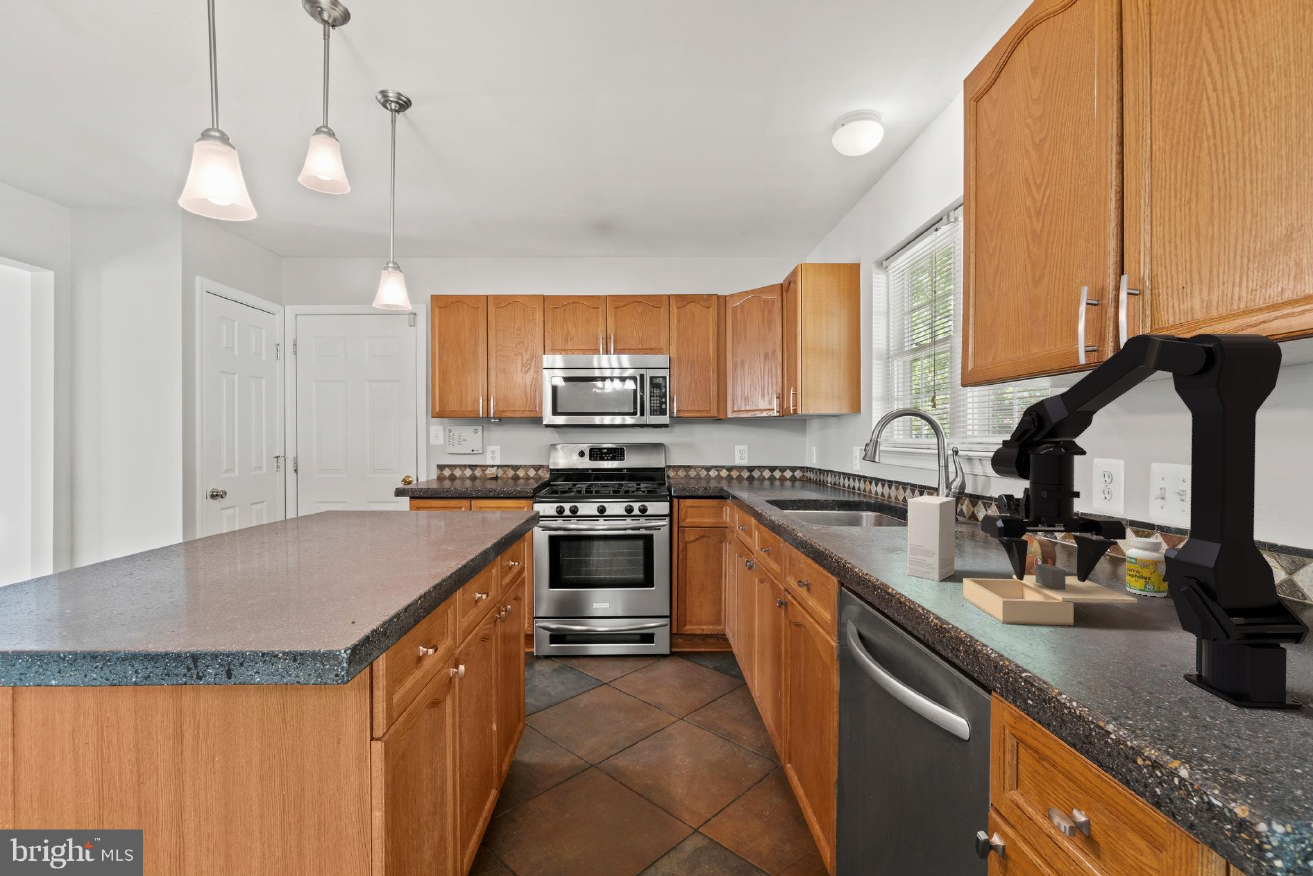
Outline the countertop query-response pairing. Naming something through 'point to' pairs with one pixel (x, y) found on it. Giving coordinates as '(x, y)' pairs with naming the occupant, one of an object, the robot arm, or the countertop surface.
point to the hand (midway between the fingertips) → (1050, 580)
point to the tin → (1038, 553)
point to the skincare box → (931, 537)
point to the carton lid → (1071, 586)
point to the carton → (1016, 602)
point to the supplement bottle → (1146, 568)
